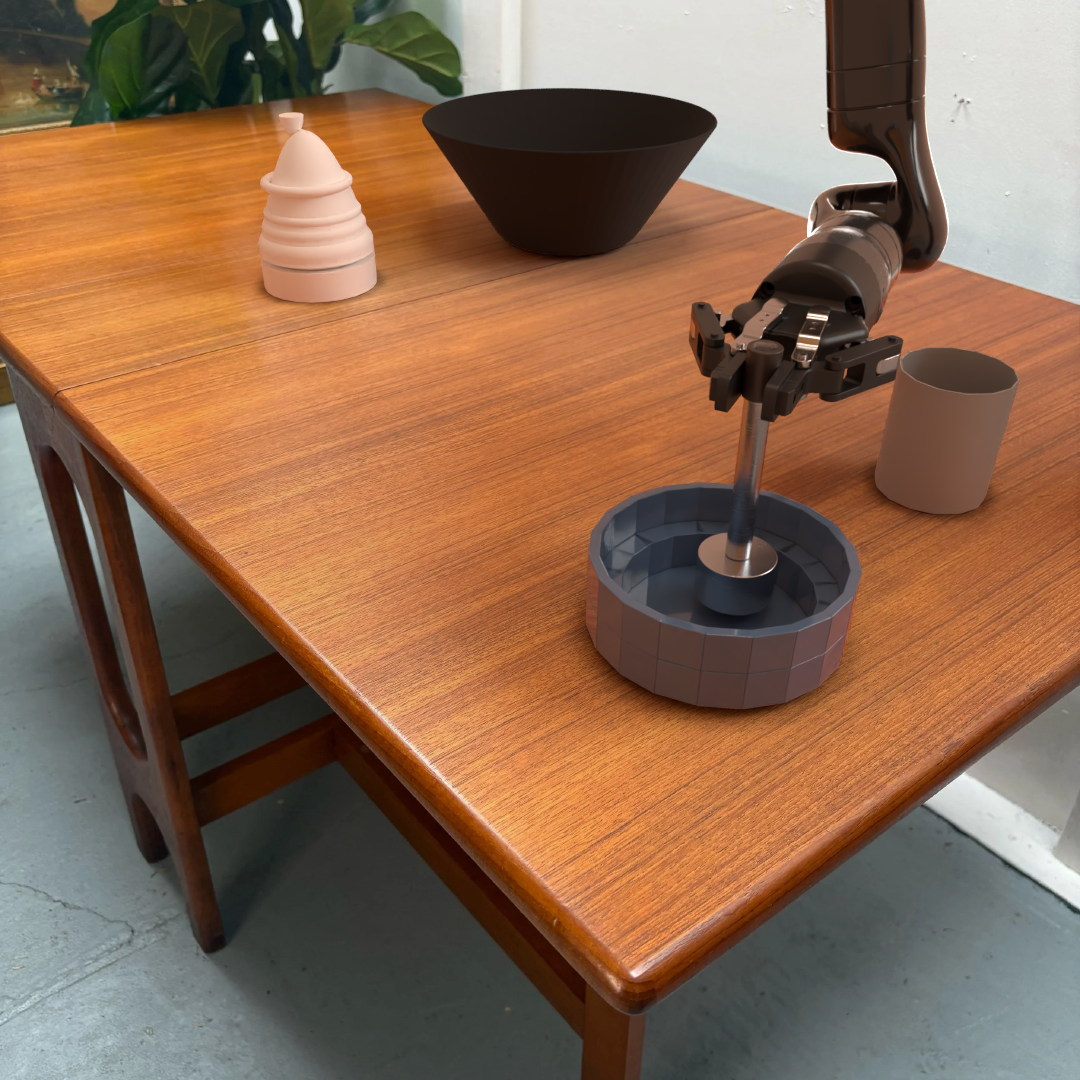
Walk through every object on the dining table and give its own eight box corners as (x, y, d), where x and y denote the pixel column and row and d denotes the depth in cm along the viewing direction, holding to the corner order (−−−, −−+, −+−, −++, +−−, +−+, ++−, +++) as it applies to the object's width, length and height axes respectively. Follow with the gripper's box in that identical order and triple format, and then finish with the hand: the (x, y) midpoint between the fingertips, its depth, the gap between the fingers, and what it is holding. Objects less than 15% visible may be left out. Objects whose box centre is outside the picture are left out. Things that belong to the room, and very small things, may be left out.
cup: (852, 482, 81) (876, 366, 75) (911, 450, 85) (938, 338, 80) (947, 526, 76) (981, 405, 70) (1005, 490, 80) (1041, 373, 74)
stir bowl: (826, 562, 72) (840, 489, 68) (862, 726, 58) (882, 646, 55) (594, 547, 73) (597, 475, 70) (577, 705, 60) (579, 625, 56)
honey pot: (243, 282, 118) (215, 117, 108) (334, 256, 126) (316, 100, 115) (306, 311, 111) (283, 137, 100) (399, 282, 118) (387, 117, 108)
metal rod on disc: (768, 571, 68) (806, 330, 58) (775, 618, 64) (816, 367, 54) (692, 567, 68) (718, 327, 58) (694, 613, 64) (721, 363, 54)
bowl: (738, 220, 139) (751, 102, 130) (650, 307, 112) (660, 166, 103) (505, 188, 151) (503, 79, 142) (375, 260, 124) (364, 131, 116)
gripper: (730, 226, 68) (630, 313, 56) (944, 257, 63) (888, 361, 50) (719, 331, 73) (624, 434, 60) (918, 368, 67) (861, 490, 55)
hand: (745, 400), depth 55 cm, fingers closed on metal rod on disc
